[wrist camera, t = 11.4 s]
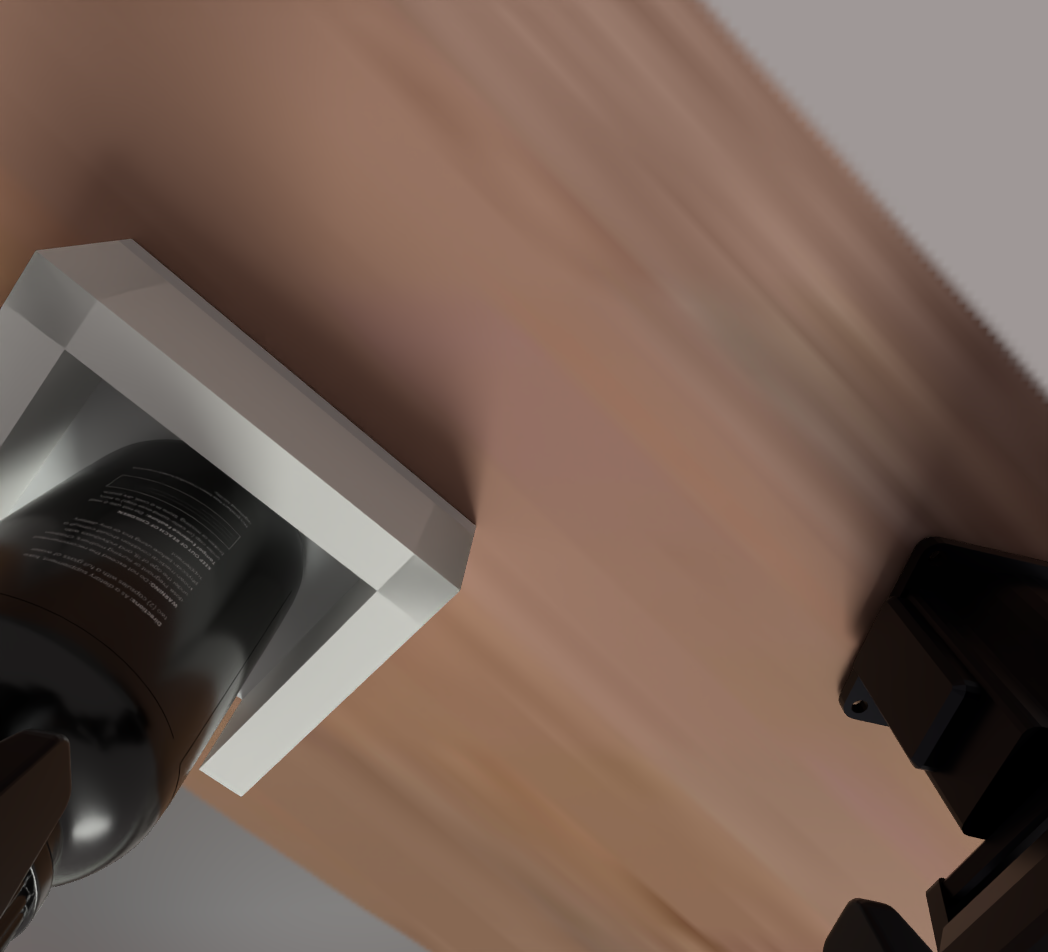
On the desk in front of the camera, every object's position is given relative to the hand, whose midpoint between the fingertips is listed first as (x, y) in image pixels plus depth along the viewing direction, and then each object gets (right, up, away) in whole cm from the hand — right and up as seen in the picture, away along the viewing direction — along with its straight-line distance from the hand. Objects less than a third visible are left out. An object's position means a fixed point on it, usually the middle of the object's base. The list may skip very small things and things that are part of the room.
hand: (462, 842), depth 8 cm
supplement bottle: (-9, +2, +13) cm, 16 cm away
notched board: (-9, +3, +14) cm, 17 cm away
